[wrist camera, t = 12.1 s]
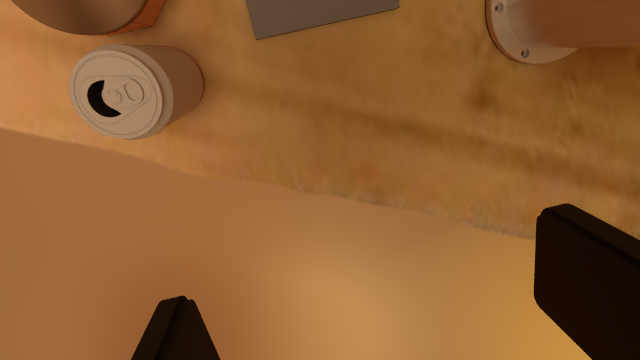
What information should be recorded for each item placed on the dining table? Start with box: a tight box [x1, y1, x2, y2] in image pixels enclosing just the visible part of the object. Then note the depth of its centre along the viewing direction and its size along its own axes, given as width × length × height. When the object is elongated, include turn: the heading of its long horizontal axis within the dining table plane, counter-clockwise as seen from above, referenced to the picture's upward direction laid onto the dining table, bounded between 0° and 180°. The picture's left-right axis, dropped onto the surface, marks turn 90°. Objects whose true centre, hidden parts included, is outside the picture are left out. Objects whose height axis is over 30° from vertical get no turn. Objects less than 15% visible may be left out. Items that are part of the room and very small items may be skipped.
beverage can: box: [69, 44, 203, 140], centre depth 27 cm, size 6×6×12 cm
